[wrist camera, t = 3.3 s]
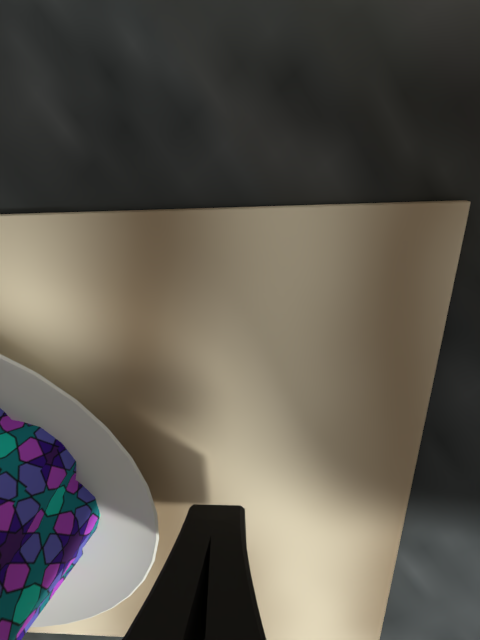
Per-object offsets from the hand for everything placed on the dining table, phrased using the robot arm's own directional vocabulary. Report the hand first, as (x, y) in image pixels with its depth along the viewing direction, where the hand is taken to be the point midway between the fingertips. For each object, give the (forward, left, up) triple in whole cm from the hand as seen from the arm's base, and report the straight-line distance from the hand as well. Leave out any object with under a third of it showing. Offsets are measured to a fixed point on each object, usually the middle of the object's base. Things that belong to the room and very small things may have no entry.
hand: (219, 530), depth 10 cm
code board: (+9, 0, -1) cm, 9 cm away
